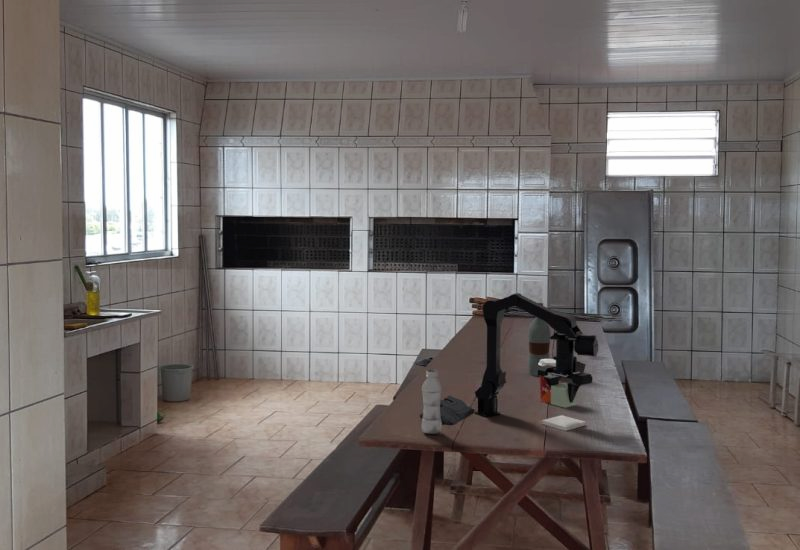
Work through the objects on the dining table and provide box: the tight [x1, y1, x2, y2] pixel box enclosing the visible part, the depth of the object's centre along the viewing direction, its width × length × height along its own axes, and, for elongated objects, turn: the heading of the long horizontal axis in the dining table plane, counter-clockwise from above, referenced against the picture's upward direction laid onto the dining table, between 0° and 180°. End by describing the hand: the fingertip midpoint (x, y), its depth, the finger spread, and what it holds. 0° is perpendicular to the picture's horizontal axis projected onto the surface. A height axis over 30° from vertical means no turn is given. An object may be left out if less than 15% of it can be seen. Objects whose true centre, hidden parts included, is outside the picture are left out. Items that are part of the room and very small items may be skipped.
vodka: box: [527, 302, 552, 377], centre depth 341 cm, size 9×9×30 cm
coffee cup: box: [538, 358, 556, 404], centre depth 297 cm, size 8×8×15 cm
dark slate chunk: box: [419, 395, 476, 426], centre depth 279 cm, size 15×22×5 cm
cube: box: [550, 382, 578, 408], centre depth 267 cm, size 6×6×6 cm
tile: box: [541, 414, 586, 432], centre depth 267 cm, size 10×10×1 cm
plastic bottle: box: [421, 369, 443, 435], centre depth 257 cm, size 6×7×20 cm
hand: (563, 400), depth 267 cm, fingers closed on cube, 6 cm apart
